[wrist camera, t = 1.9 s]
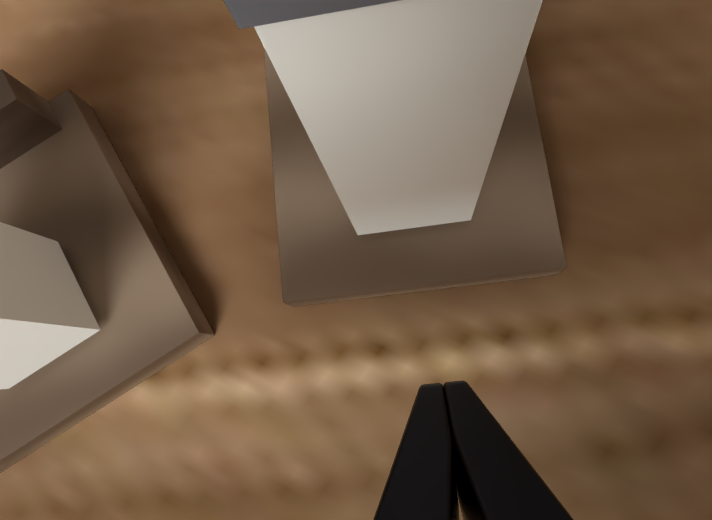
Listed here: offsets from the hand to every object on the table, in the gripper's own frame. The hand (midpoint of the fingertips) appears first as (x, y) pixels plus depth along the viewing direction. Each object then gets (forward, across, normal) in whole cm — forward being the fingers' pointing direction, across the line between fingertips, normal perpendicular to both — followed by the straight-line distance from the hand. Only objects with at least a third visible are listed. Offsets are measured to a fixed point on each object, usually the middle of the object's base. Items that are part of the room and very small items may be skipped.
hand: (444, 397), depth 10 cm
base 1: (+11, +15, +3) cm, 19 cm away
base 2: (+14, 0, 0) cm, 14 cm away
